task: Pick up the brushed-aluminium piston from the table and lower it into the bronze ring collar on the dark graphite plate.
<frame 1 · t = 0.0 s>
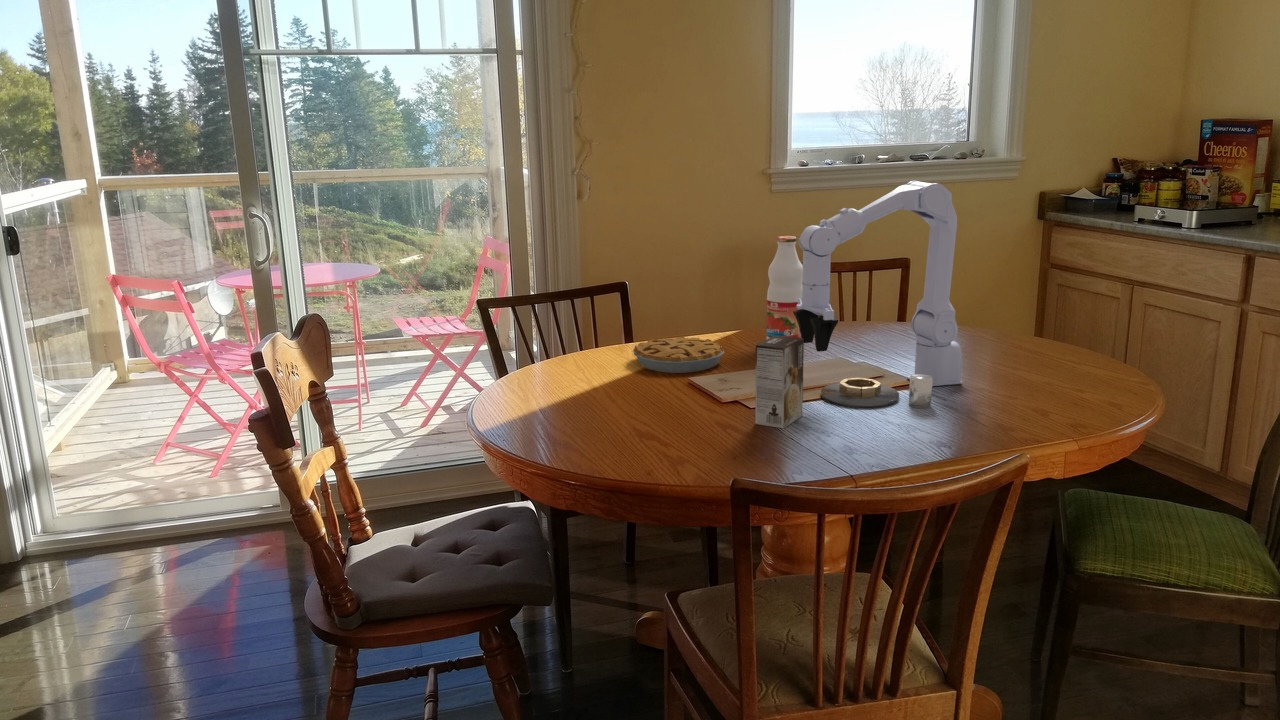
hand: (814, 346, 204), 10 cm above the table, fingers open, 7 cm apart
pipe clamp: (789, 377, 220), on the table
fruit juice: (784, 345, 248), on the table
coffee box: (778, 421, 188), on the table
piston: (919, 405, 196), on the table
pie: (678, 364, 233), on the table
ring collar: (859, 396, 203), on the table
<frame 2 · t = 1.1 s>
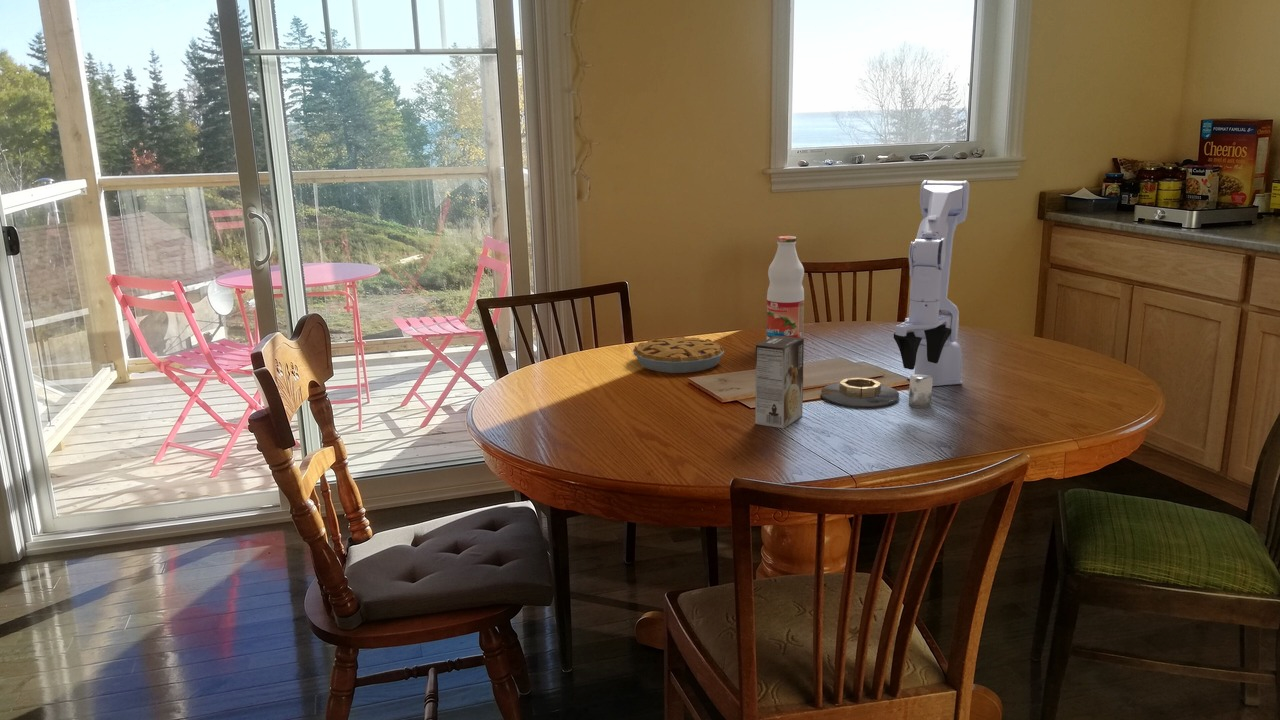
hand: (920, 365, 194), 8 cm above the table, fingers open, 7 cm apart
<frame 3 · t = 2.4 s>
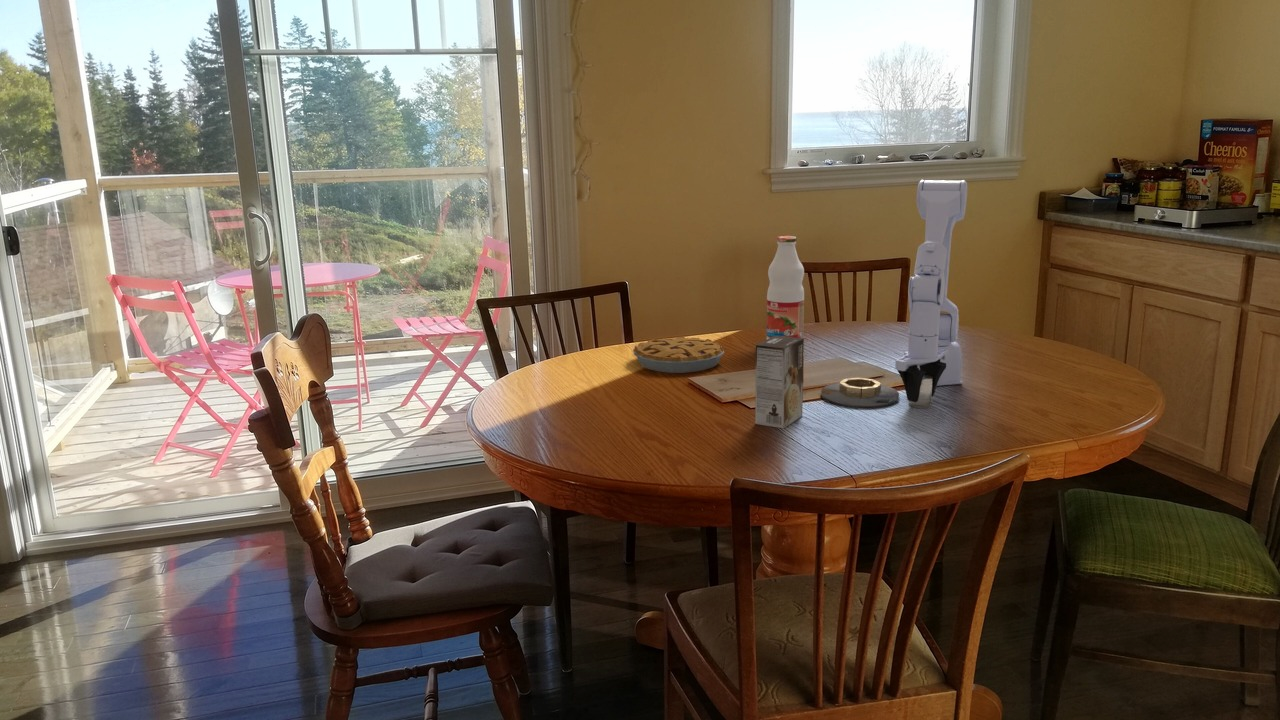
hand: (920, 398, 196), 1 cm above the table, fingers closed on piston, 4 cm apart
piston: (919, 405, 196), on the table, touching gripper
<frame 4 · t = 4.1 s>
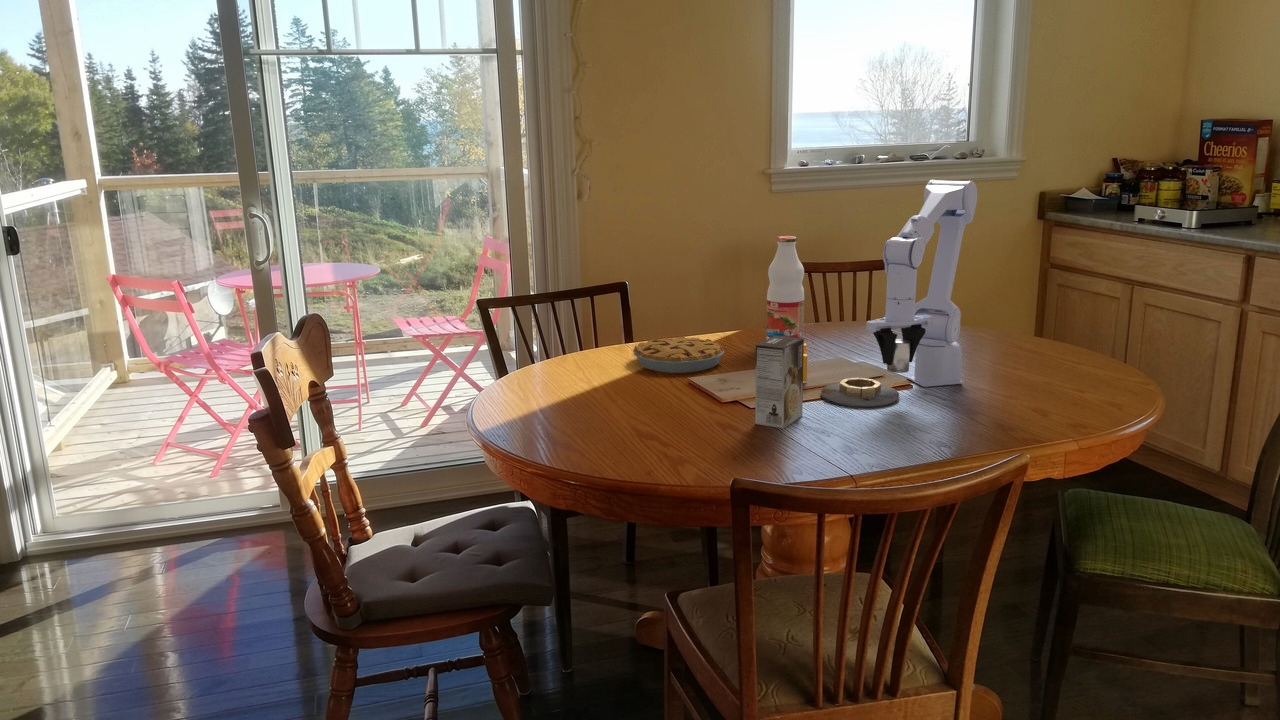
hand: (897, 362, 196), 8 cm above the table, fingers closed on piston, 4 cm apart
piston: (897, 370, 197), point 7 cm above the table, touching gripper
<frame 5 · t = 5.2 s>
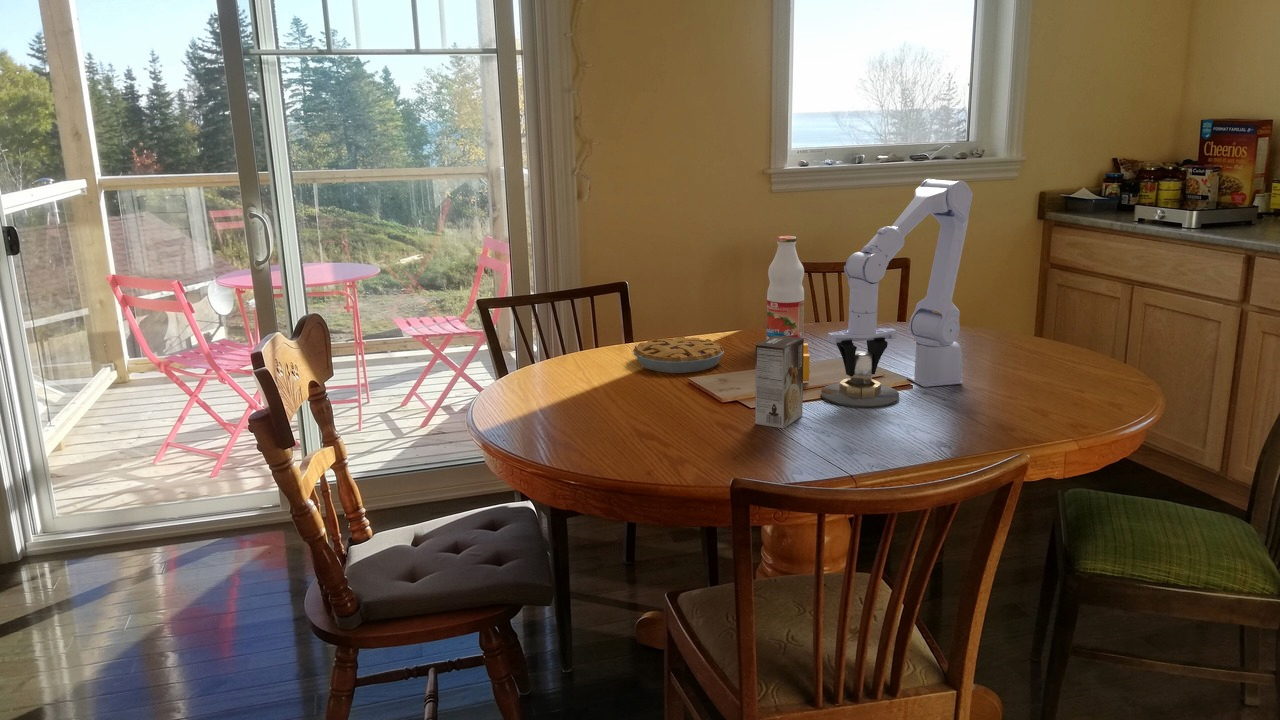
hand: (860, 374, 201), 5 cm above the table, fingers closed on piston, 4 cm apart
piston: (860, 381, 201), point 3 cm above the table, touching gripper
when the fingers open (4 cm above the table, at t = 5.9 s): piston drops 1 cm, resting on ring collar.
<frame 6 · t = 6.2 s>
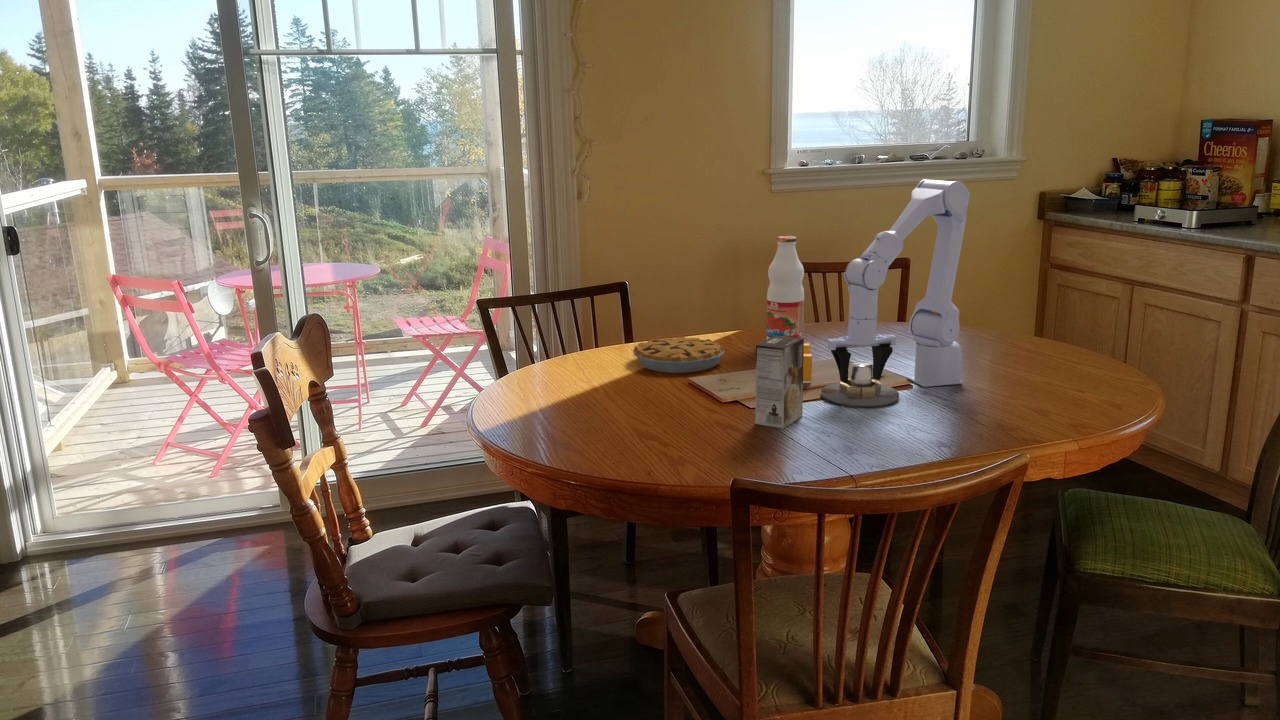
hand: (860, 380, 202), 4 cm above the table, fingers open, 7 cm apart
piston: (860, 392, 202), point 1 cm above the table, touching ring collar
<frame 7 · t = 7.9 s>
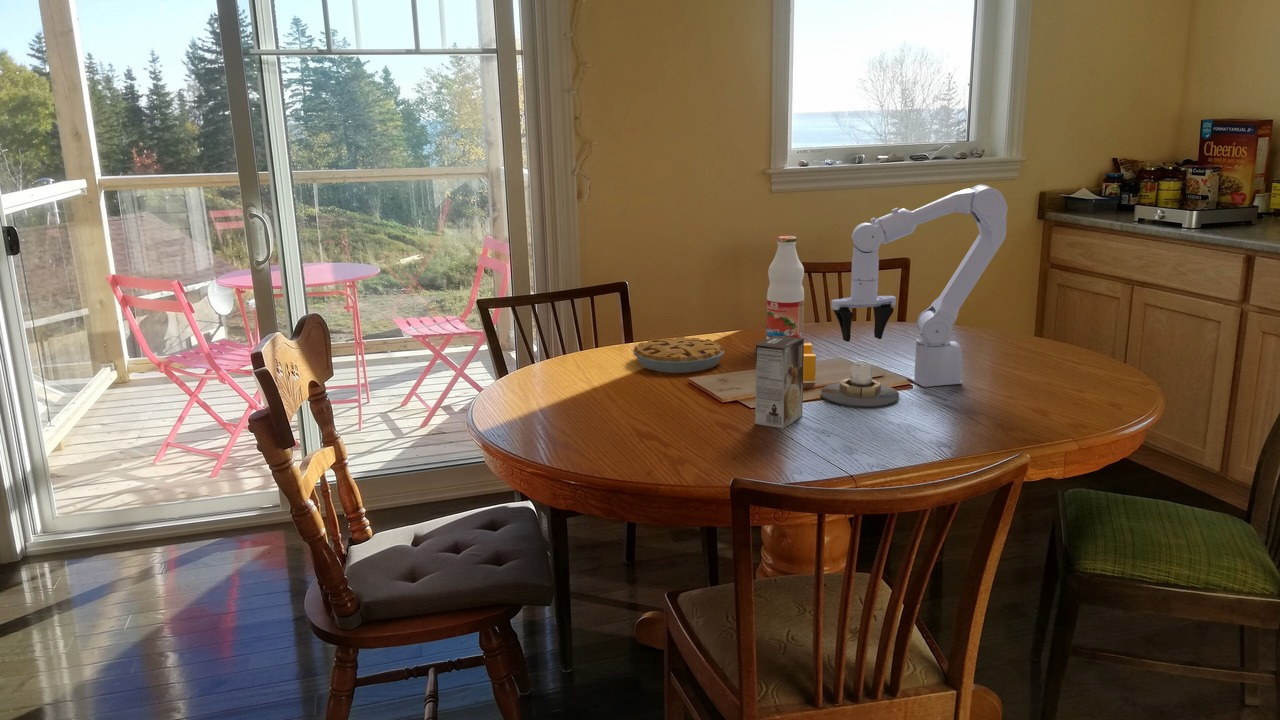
hand: (862, 339, 213), 9 cm above the table, fingers open, 7 cm apart
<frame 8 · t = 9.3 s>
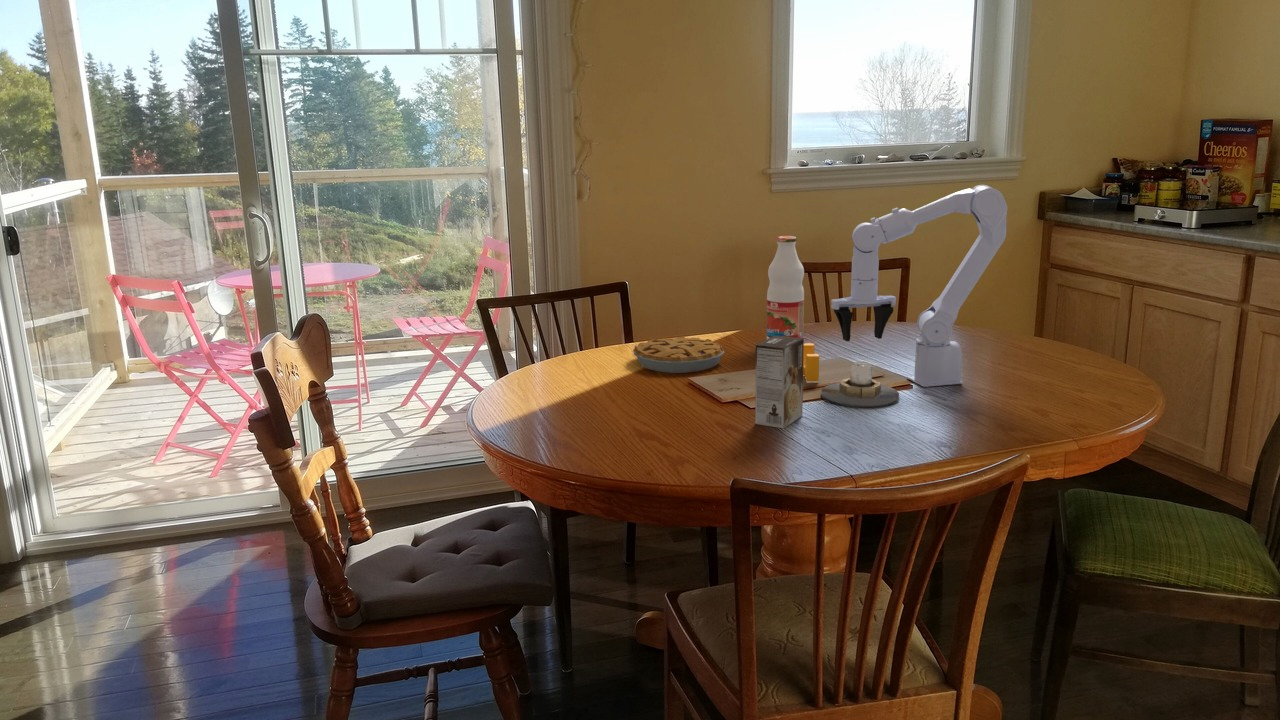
hand: (862, 339, 213), 9 cm above the table, fingers open, 7 cm apart
at the end: piston 0.3 cm off-centre on the ring collar, point 1.0 cm above the ring collar's base; piston tilted 0°; the gripper is holding nothing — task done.
